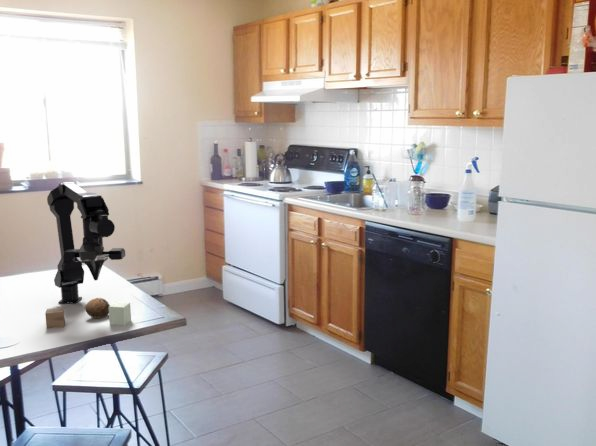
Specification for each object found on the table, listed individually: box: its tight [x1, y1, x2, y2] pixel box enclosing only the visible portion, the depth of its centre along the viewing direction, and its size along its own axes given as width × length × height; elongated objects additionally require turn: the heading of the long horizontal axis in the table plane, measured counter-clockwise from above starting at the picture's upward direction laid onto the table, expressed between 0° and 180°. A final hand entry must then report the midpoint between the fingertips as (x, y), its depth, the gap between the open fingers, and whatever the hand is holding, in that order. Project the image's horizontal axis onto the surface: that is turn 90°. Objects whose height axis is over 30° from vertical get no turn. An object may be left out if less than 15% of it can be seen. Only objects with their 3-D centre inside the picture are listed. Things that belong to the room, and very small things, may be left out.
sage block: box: [108, 301, 132, 326], centre depth 187 cm, size 5×5×6 cm
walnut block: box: [44, 306, 66, 329], centre depth 185 cm, size 5×5×5 cm
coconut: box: [84, 297, 111, 319], centre depth 193 cm, size 8×8×6 cm
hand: (96, 280), depth 191 cm, fingers closed
